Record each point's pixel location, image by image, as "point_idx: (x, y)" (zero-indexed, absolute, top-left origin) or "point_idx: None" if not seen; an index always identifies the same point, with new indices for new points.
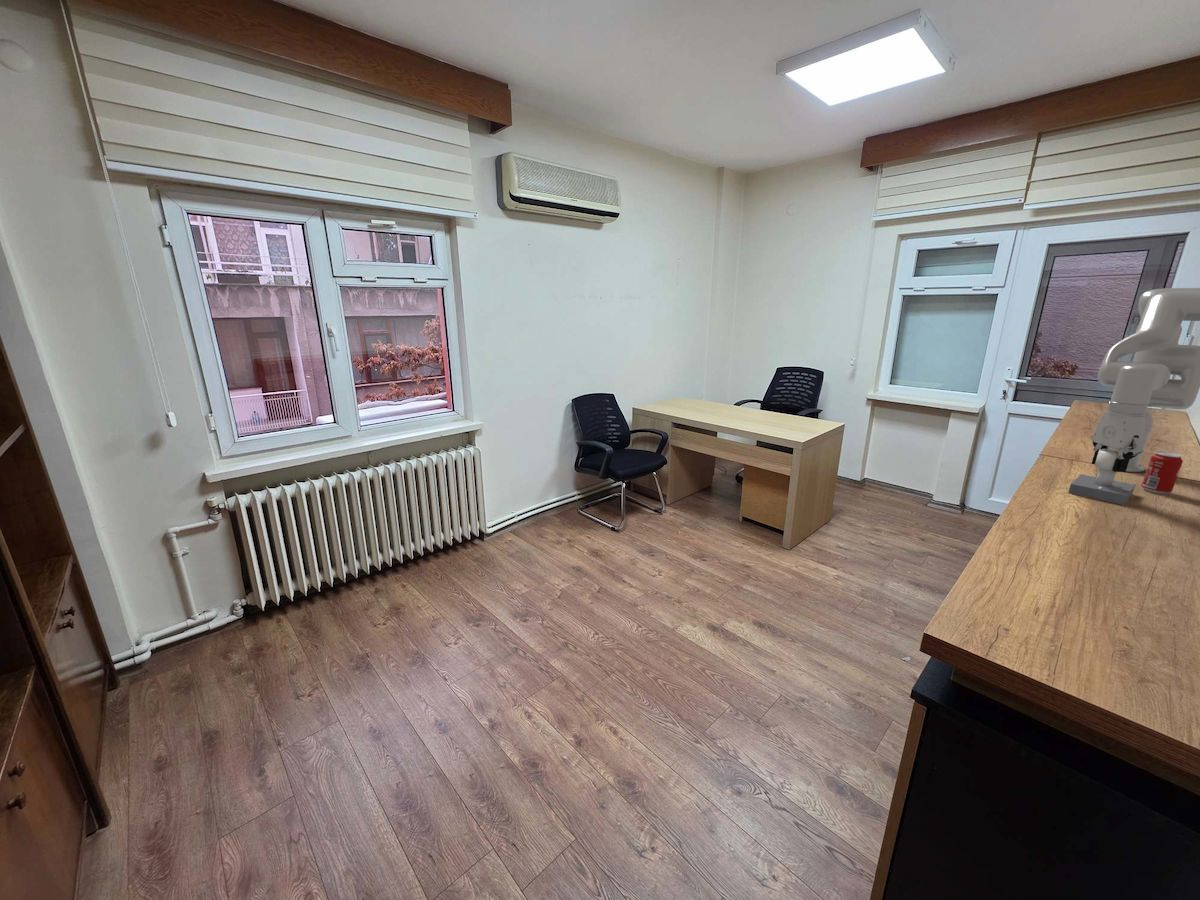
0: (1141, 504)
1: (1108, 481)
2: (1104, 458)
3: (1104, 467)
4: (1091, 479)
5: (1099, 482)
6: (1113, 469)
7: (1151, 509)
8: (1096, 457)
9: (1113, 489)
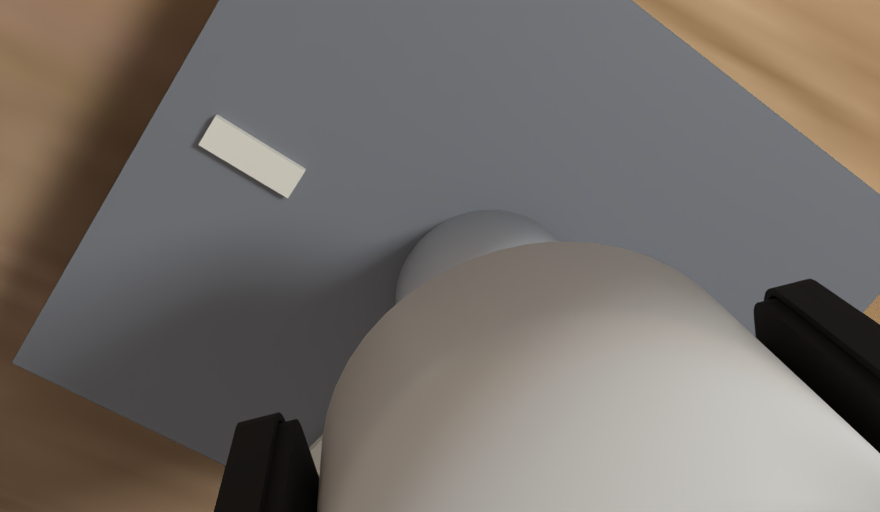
0: (201, 480)
1: None
2: (459, 424)
3: (391, 333)
4: (696, 256)
5: (442, 237)
6: (253, 432)
7: (51, 494)
8: (849, 388)
9: (262, 314)
